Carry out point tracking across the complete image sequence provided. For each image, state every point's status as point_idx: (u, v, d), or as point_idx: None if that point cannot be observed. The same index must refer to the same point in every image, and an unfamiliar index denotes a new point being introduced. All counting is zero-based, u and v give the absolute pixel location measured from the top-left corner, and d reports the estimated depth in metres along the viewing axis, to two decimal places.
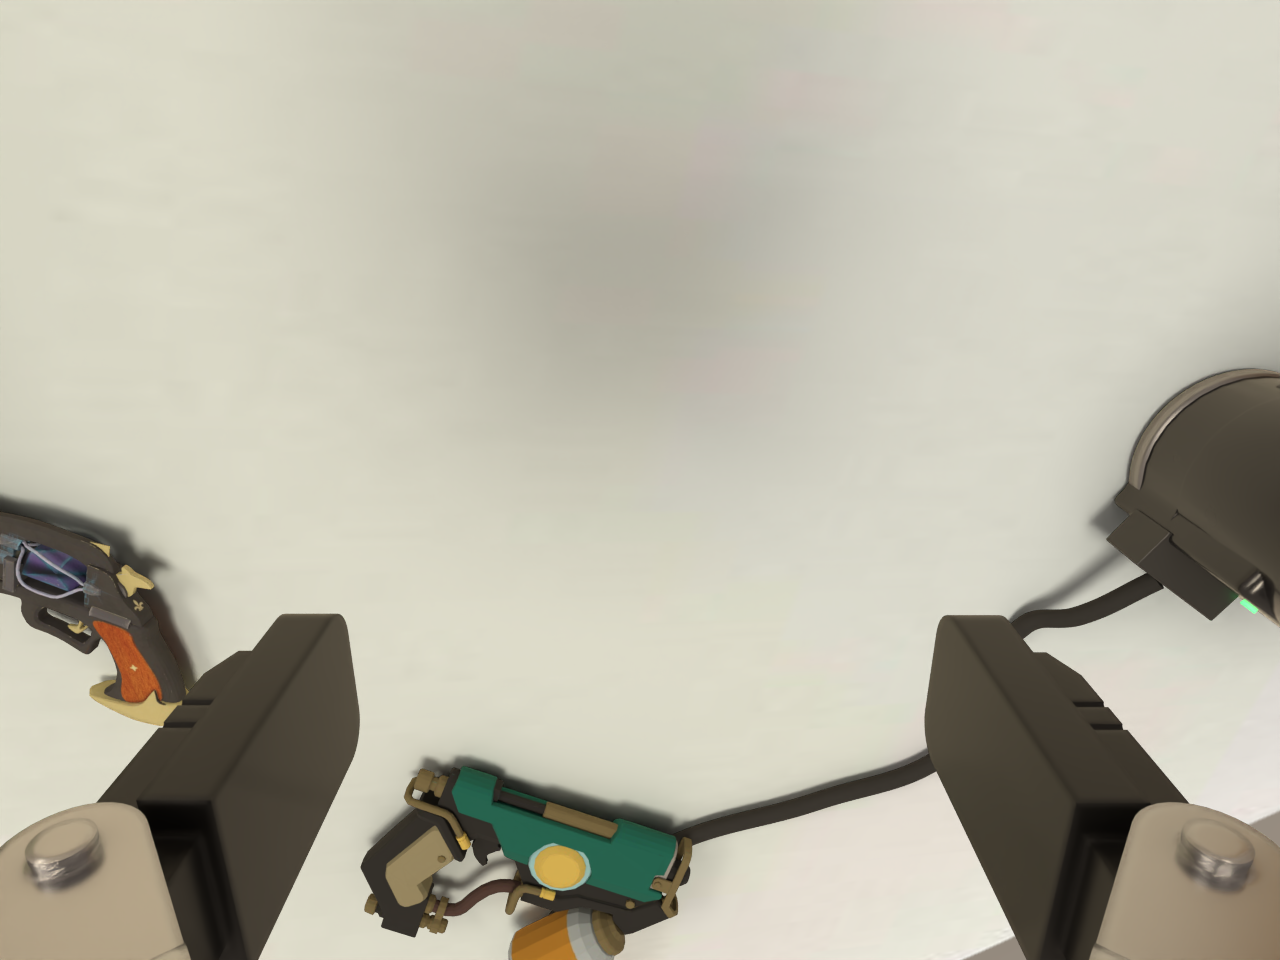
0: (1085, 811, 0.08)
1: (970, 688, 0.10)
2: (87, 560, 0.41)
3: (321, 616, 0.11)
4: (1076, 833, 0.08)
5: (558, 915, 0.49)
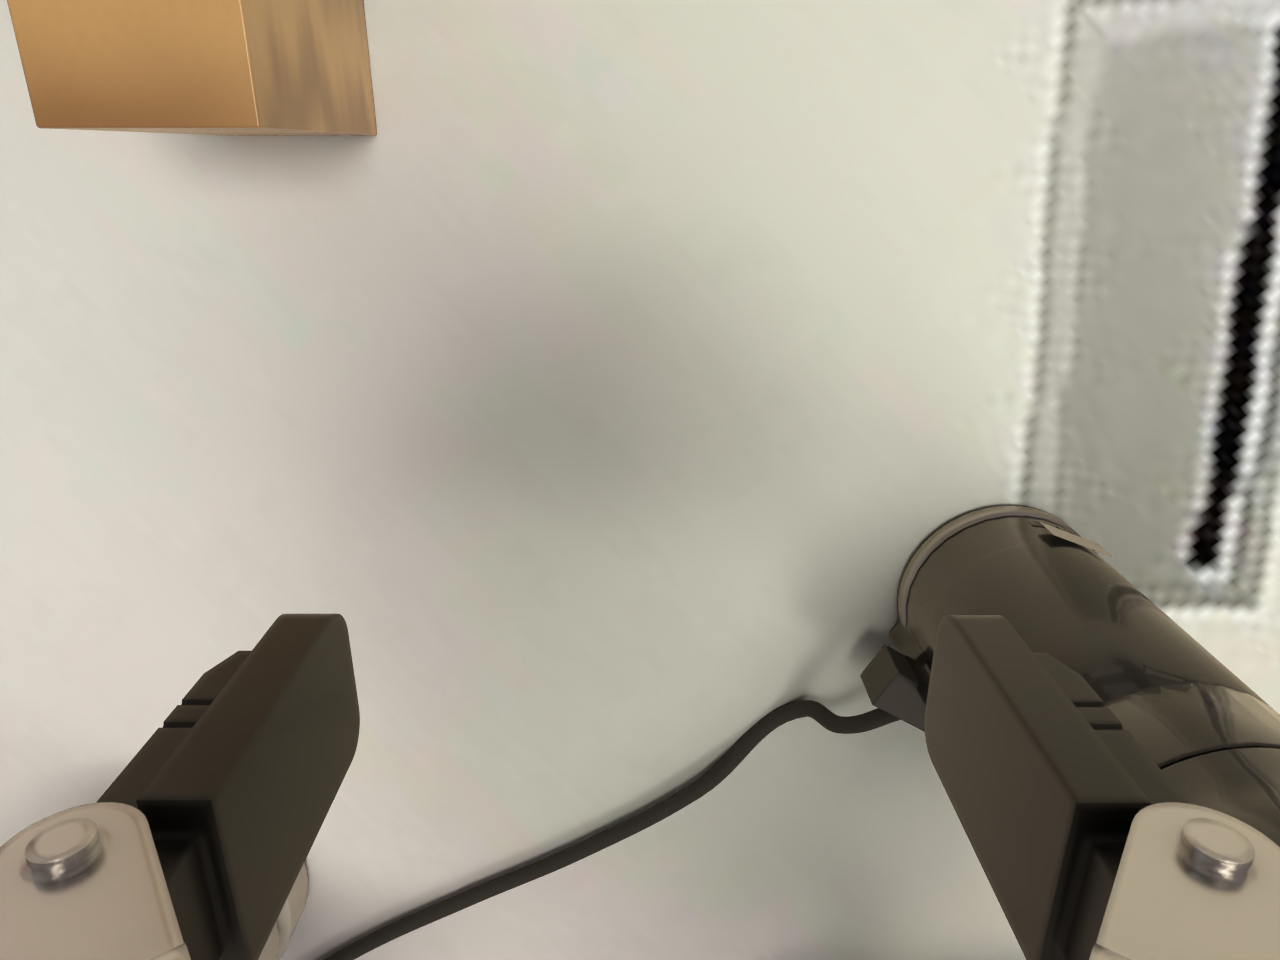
0: (1085, 811, 0.08)
1: (970, 688, 0.10)
2: None
3: (321, 616, 0.11)
4: (1076, 833, 0.08)
5: None
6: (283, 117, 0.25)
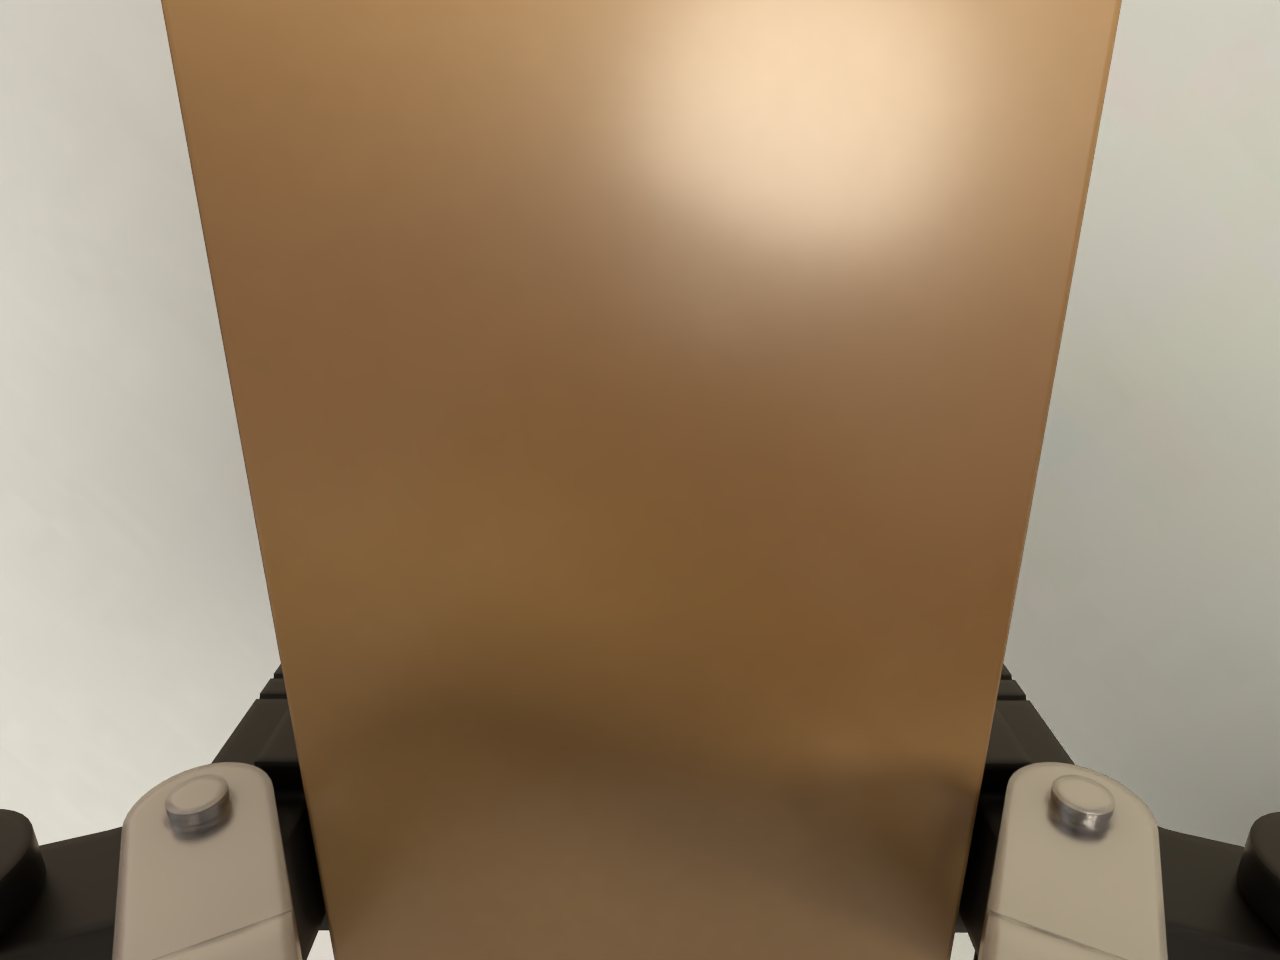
0: None
1: None
2: None
3: None
4: None
5: None
6: None
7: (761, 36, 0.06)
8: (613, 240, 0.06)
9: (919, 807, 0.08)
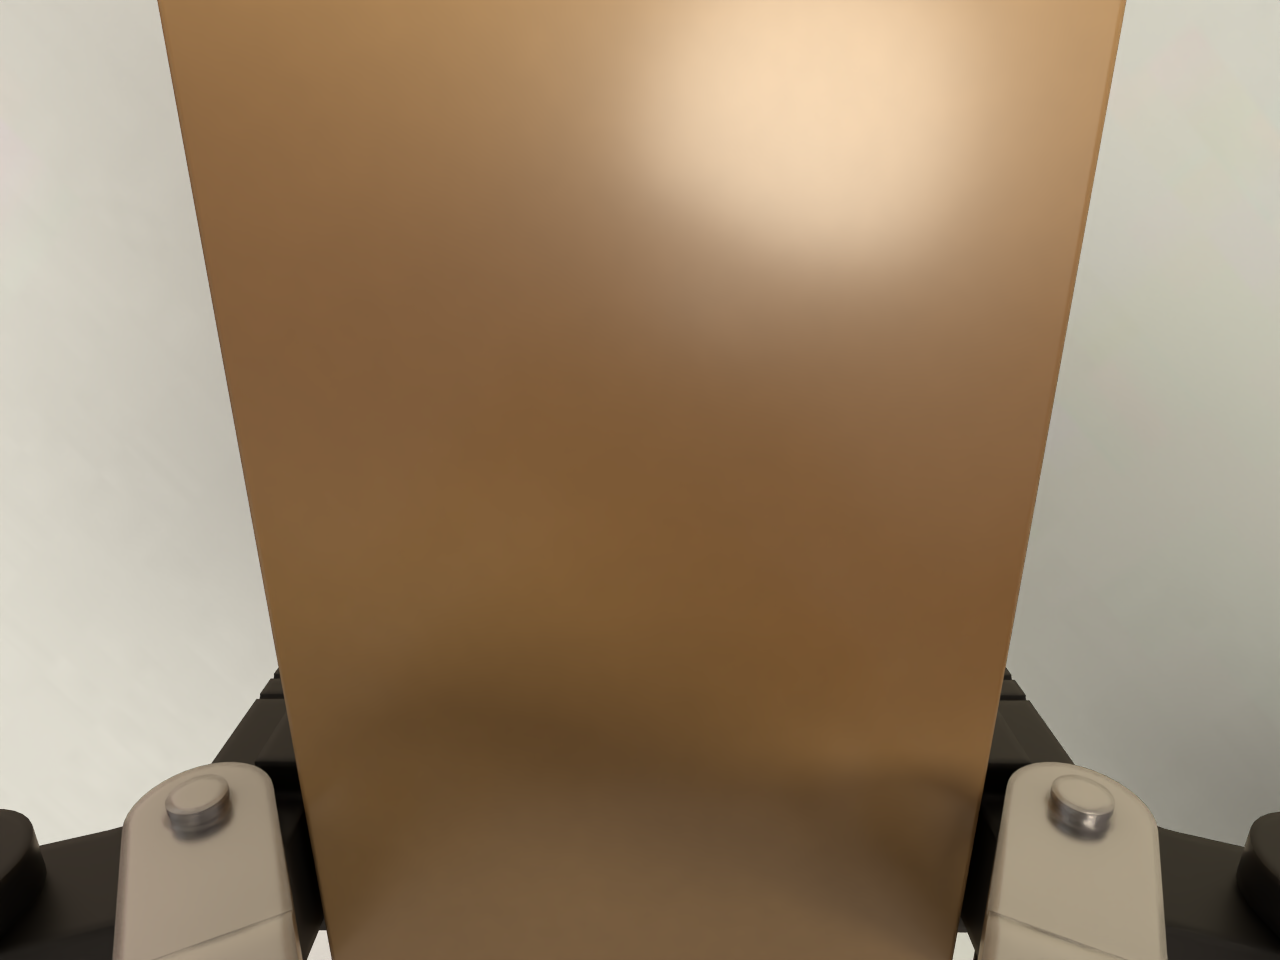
0: None
1: None
2: None
3: None
4: None
5: None
6: None
7: (760, 36, 0.05)
8: (614, 242, 0.06)
9: (921, 812, 0.08)
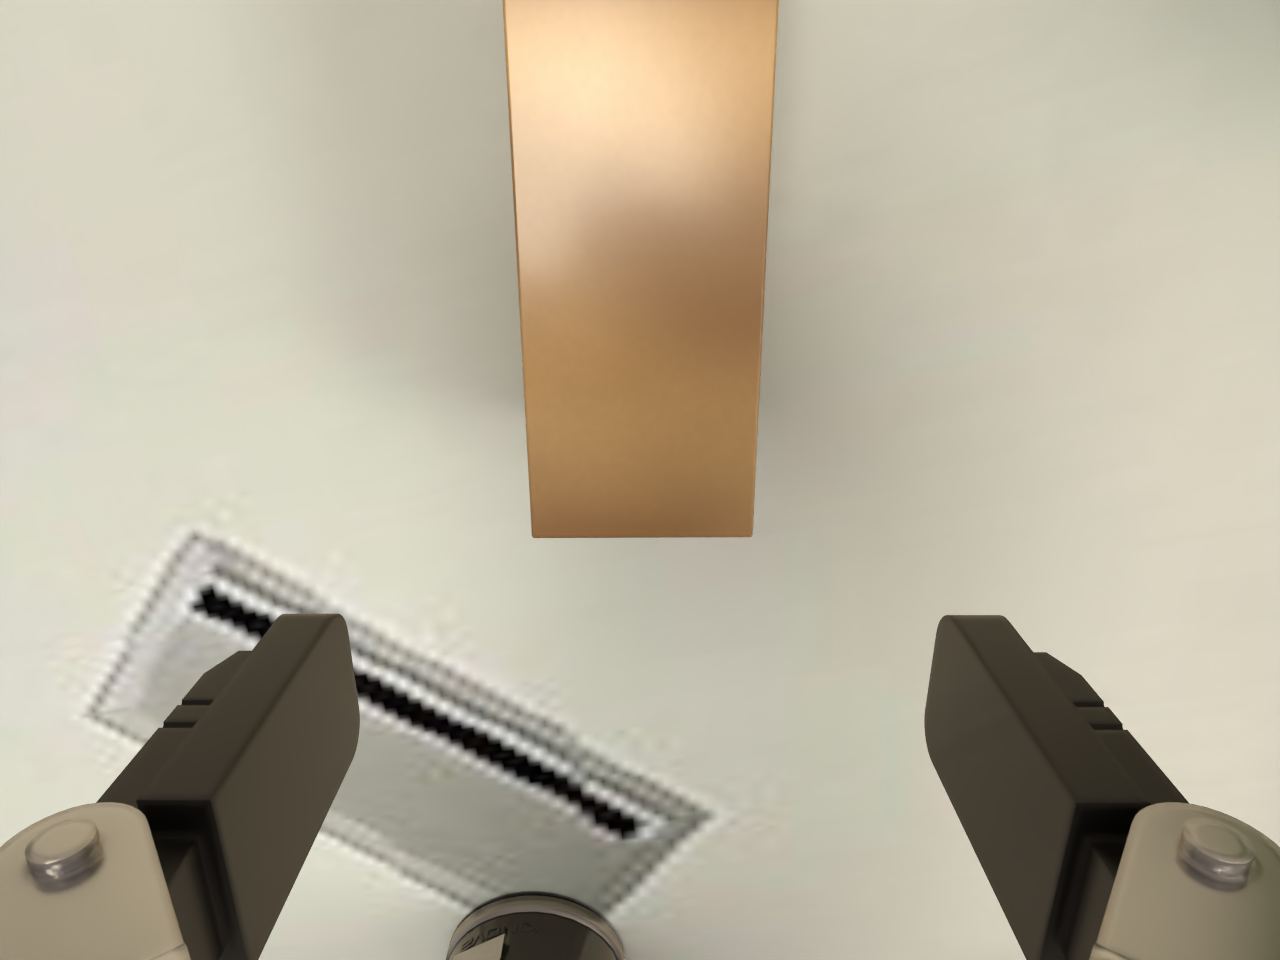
0: (1085, 811, 0.08)
1: (970, 688, 0.10)
2: None
3: (321, 615, 0.11)
4: (1076, 833, 0.08)
5: None
6: None
7: (673, 128, 0.20)
8: (632, 186, 0.21)
9: (738, 388, 0.22)
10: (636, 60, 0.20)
